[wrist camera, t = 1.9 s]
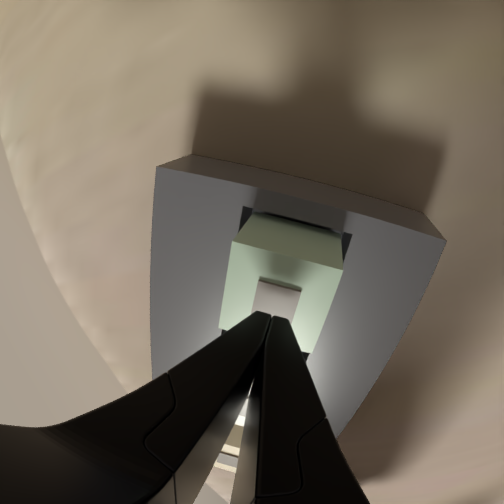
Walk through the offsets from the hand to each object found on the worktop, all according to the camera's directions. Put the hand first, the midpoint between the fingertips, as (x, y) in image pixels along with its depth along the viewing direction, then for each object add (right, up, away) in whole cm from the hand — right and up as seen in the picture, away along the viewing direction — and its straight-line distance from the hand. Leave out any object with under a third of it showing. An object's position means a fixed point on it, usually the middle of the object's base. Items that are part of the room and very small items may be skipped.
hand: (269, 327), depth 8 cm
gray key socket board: (0, -2, +8) cm, 8 cm away
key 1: (+1, +2, +3) cm, 4 cm away
